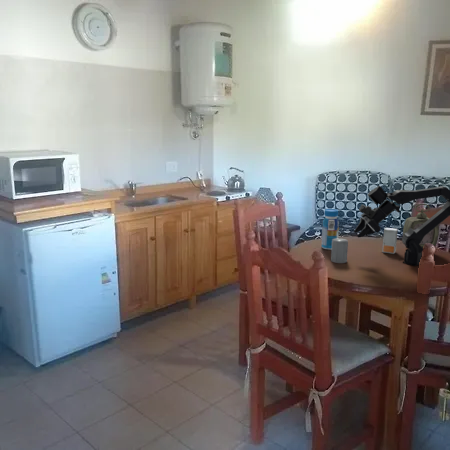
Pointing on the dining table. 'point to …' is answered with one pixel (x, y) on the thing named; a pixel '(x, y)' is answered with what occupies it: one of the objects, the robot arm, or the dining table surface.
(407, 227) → the tabletop clock
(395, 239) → the skincare box
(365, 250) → the dining table surface
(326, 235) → the beverage bottle
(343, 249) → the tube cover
